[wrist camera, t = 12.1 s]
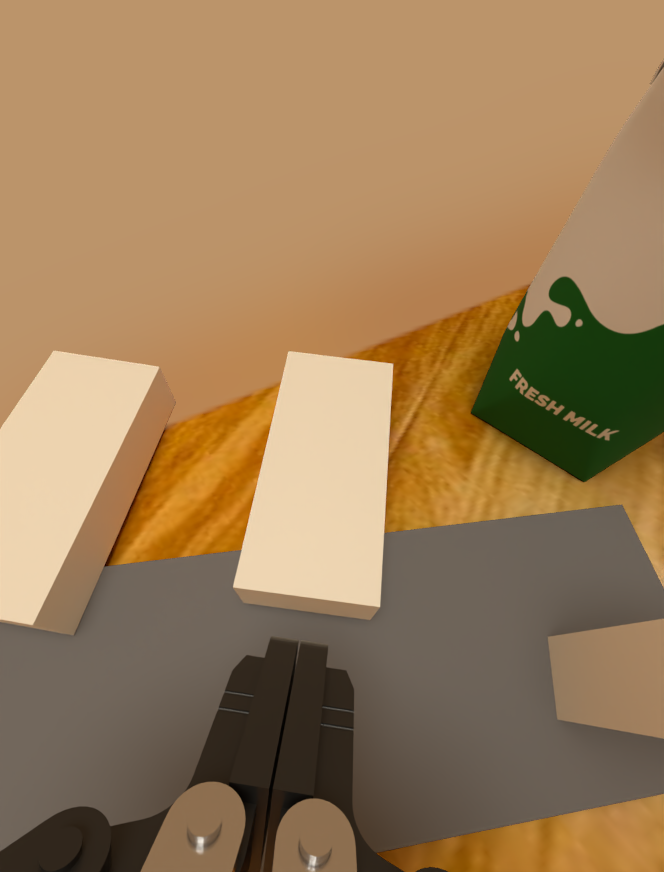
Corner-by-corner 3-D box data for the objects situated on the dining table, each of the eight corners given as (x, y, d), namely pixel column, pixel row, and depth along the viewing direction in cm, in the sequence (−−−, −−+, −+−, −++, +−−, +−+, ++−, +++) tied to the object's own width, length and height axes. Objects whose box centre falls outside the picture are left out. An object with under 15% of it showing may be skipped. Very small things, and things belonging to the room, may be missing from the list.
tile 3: (75, 635, 17) (176, 404, 24) (32, 625, 15) (159, 366, 21) (-51, 613, 18) (82, 389, 24) (-116, 597, 15) (53, 350, 21)
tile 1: (369, 620, 18) (384, 400, 25) (380, 607, 15) (393, 363, 22) (244, 603, 18) (290, 389, 25) (232, 587, 16) (288, 351, 22)
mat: (617, 507, 22) (622, 504, 21) (746, 772, 16) (756, 774, 16) (-81, 591, 18) (-89, 589, 18) (-204, 966, 13) (-218, 974, 12)
